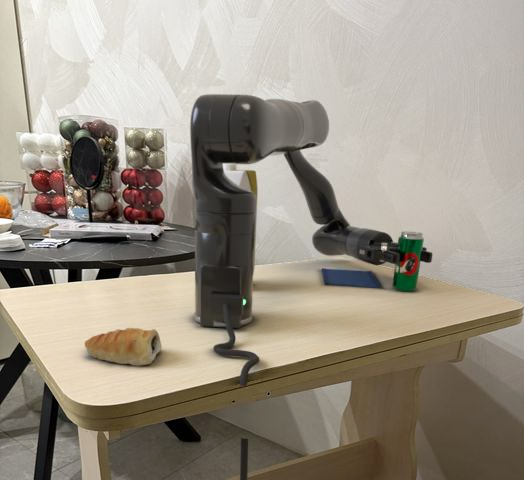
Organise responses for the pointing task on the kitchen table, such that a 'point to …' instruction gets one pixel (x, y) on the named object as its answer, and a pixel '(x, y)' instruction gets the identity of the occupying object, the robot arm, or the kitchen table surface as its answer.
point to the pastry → (125, 346)
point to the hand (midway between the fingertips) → (414, 258)
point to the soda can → (408, 261)
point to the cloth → (350, 278)
